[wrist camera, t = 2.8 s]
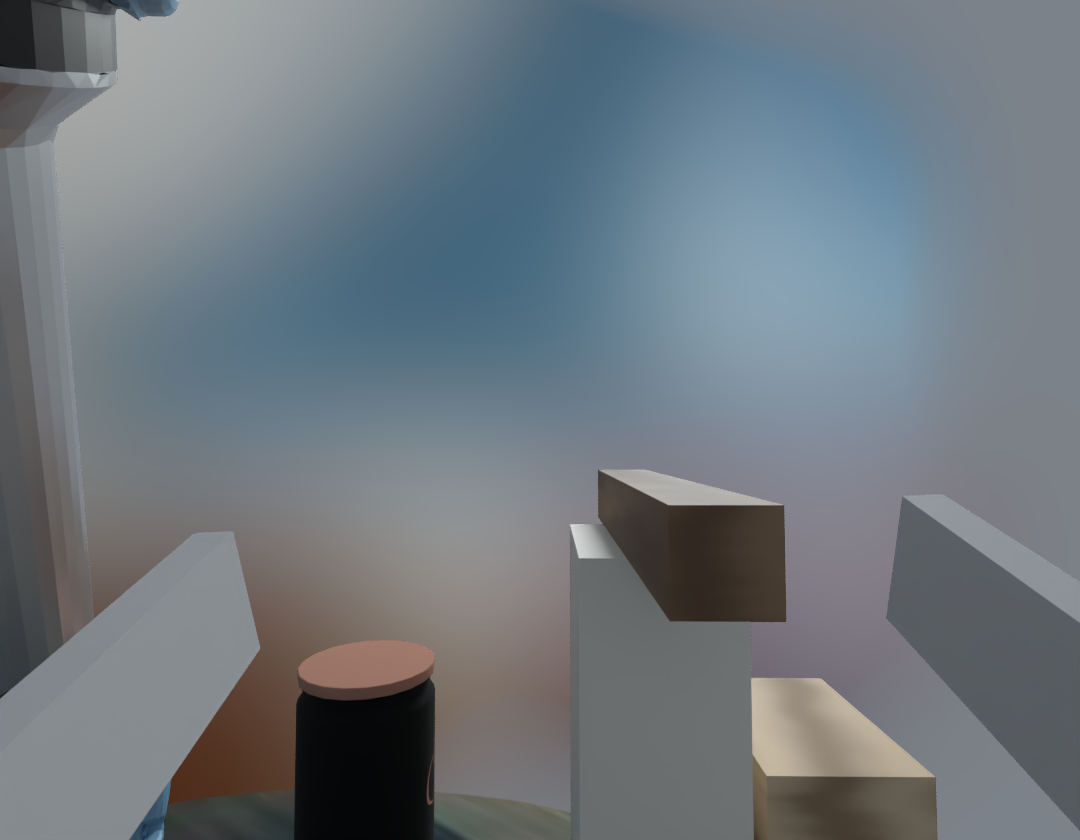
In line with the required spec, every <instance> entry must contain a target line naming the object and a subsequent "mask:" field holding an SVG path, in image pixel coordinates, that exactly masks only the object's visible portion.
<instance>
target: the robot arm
mask: <svg viewBox="0 0 1080 840" xmlns="http://www.w3.org/2000/svg"><path fill="white" fill-rule="evenodd" d="M178 4H179V0H0V840H163V837H164V823H163V821H164V818H165V816H166V809H167V804H168V799H169V792H170V781H171V778H172V776H173V775H174V774H175V772H176V771H177V769H178V768H179V766H180V765H181V763H182V762H183V760H184V759H185V758H186V756H187V755H188V753H189V751H190V750H191V749H192V747H193V746H194V744H195V743H196V741H197V740H198V739H199V737H200V736H201V734H202V733H203V731H204V730H205V728H206V727H207V725H208V724H209V722H210V721H211V720H212V718H213V717H214V715H215V714H216V712H217V711H218V709H219V708H220V706H221V705H222V703H223V702H224V701H225V699H226V698H227V696H228V695H229V693H230V692H231V690H232V689H233V687H234V686H235V684H236V683H237V682H238V680H239V679H240V677H241V676H242V674H243V673H244V671H245V670H246V668H247V667H248V665H249V664H250V662H251V661H252V660H253V658H254V657H255V655H256V654H257V652H258V651H259V649H260V645H259V641H258V637H257V633H256V629H255V624H254V620H253V615H252V611H251V607H250V603H249V598H248V595H247V590H246V585H245V581H244V577H243V573H242V568H241V564H240V560H239V555H238V551H237V547H236V543H235V538H234V534H233V531H228V532H208V533H194V534H193V535H192V536H191V537H190V538H188V539H187V540H186V541H185V542H184V543H183V544H181V545H180V546H179V547H178V548H177V549H176V550H174V551H173V552H172V553H171V554H170V555H168V556H167V557H166V558H165V559H164V560H163V561H161V562H160V563H159V564H158V565H157V566H156V567H154V568H153V569H152V570H151V571H150V572H148V573H147V574H146V575H145V576H144V577H143V578H141V579H140V580H139V581H138V582H137V583H136V584H134V585H133V586H132V587H131V588H130V589H129V590H127V591H126V592H125V593H124V594H123V595H121V596H120V597H119V598H118V599H117V600H116V601H114V602H113V603H112V604H111V605H110V606H109V607H107V608H106V609H105V610H104V611H103V612H101V613H100V614H99V615H98V616H97V617H96V618H95V619H94V617H93V605H92V593H91V582H90V569H89V557H88V545H87V533H86V521H85V509H84V497H83V485H82V473H81V462H80V449H79V438H78V427H77V426H78V425H77V414H76V402H75V389H74V378H73V366H72V354H71V341H70V330H69V319H68V307H67V294H66V283H65V270H64V258H63V247H62V235H61V222H60V210H59V198H58V186H57V174H56V162H55V150H54V139H55V135H56V132H57V128H58V125H59V124H60V123H61V122H62V121H64V120H65V119H66V118H68V117H69V116H70V115H72V114H73V113H74V112H76V111H77V110H79V109H80V108H82V107H83V106H85V105H86V104H87V103H89V102H90V101H92V100H93V99H94V98H96V97H97V96H99V95H100V94H102V93H103V92H105V91H106V90H107V89H109V88H110V87H112V86H113V85H115V84H116V82H117V80H118V78H117V55H116V54H117V53H116V25H115V13H116V10H117V9H122V10H124V11H125V12H127V13H128V14H130V15H131V16H133V17H134V18H136V19H137V20H139V21H141V19H140V17H145V16H169V15H171V14H172V13H173V12H174V11H176V9H177V6H178ZM886 618H887V619H888V620H889V622H891V624H892V625H893V626H894V627H895V628H896V629H897V630H898V631H899V632H900V634H901V635H902V636H903V637H904V638H905V639H906V640H907V641H908V642H909V643H910V644H911V646H912V647H913V648H914V649H915V650H916V651H917V652H918V653H919V654H920V656H921V657H922V658H923V659H924V660H925V661H926V662H927V663H928V664H929V666H930V667H931V668H932V669H933V670H934V671H935V672H936V673H937V674H938V675H939V676H940V678H941V679H942V680H943V681H944V682H945V683H946V684H947V685H948V686H949V687H950V688H951V690H952V691H953V692H954V693H955V694H956V695H957V696H958V697H959V698H960V700H961V701H962V702H963V703H964V704H965V705H966V706H967V707H968V708H969V709H970V711H971V712H972V713H973V714H974V715H975V716H976V717H977V718H978V719H979V720H980V722H981V723H982V724H983V725H984V726H985V727H986V728H987V729H988V730H989V731H990V733H991V734H992V735H993V736H994V737H995V738H996V739H997V740H998V741H999V742H1000V744H1001V745H1002V746H1003V747H1004V748H1005V749H1006V750H1007V751H1008V752H1009V753H1010V755H1011V756H1012V757H1013V758H1014V759H1015V760H1016V761H1017V762H1018V763H1019V764H1020V766H1021V767H1022V768H1023V769H1024V770H1025V771H1026V772H1027V773H1028V774H1029V775H1030V777H1031V778H1032V779H1034V781H1035V782H1036V783H1037V784H1038V785H1039V786H1040V788H1041V789H1042V790H1043V791H1044V792H1045V793H1046V794H1047V795H1048V796H1049V797H1050V798H1051V799H1052V801H1053V802H1054V803H1055V804H1056V805H1057V806H1058V807H1059V808H1060V810H1061V811H1062V812H1063V813H1064V814H1065V815H1066V816H1067V817H1068V818H1069V819H1070V820H1071V822H1072V823H1073V824H1074V825H1075V826H1076V827H1077V828H1078V829H1079V830H1080V582H1079V581H1078V580H1076V579H1074V578H1073V577H1072V576H1070V575H1068V574H1067V573H1065V572H1064V571H1062V570H1061V569H1059V568H1057V567H1056V566H1054V565H1053V564H1051V563H1050V562H1048V561H1046V560H1045V559H1043V558H1042V557H1040V556H1039V555H1037V554H1036V553H1034V552H1032V551H1031V550H1029V549H1028V548H1026V547H1025V546H1023V545H1021V544H1020V543H1018V542H1017V541H1015V540H1014V539H1012V538H1010V537H1009V536H1007V535H1006V534H1004V533H1002V532H1001V531H999V530H998V529H996V528H995V527H993V526H991V525H990V524H988V523H987V522H985V521H984V520H982V519H980V518H979V517H977V516H976V515H974V514H973V513H971V512H969V511H968V510H966V509H965V508H963V507H962V506H960V505H959V504H957V503H955V502H954V501H952V500H951V499H949V498H948V497H946V496H945V495H943V494H936V495H916V496H903V497H902V504H901V511H900V518H899V526H898V534H897V541H896V549H895V556H894V564H893V572H892V579H891V587H890V595H889V602H888V611H887V617H886Z"/></svg>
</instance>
